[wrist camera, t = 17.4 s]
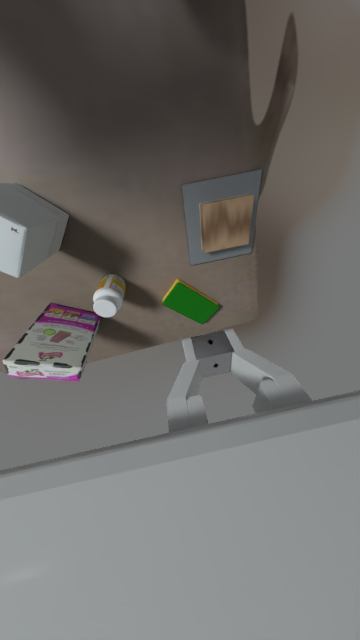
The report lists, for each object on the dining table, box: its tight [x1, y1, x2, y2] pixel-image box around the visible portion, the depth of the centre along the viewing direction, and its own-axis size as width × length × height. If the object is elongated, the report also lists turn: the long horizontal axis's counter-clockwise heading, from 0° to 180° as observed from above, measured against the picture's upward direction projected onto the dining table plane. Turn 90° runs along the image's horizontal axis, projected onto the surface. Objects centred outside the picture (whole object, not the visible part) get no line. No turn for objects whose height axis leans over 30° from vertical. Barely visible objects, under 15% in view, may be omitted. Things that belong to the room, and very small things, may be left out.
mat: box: [181, 169, 262, 265], centre depth 32 cm, size 14×14×1 cm
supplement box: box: [0, 183, 69, 278], centre depth 23 cm, size 7×7×13 cm
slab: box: [199, 194, 254, 253], centre depth 31 cm, size 8×2×9 cm
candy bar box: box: [3, 303, 101, 382], centre depth 34 cm, size 11×5×16 cm, turn 67°
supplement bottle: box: [93, 274, 126, 317], centre depth 33 cm, size 5×5×10 cm
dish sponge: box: [162, 279, 219, 324], centre depth 42 cm, size 7×14×2 cm, turn 54°
